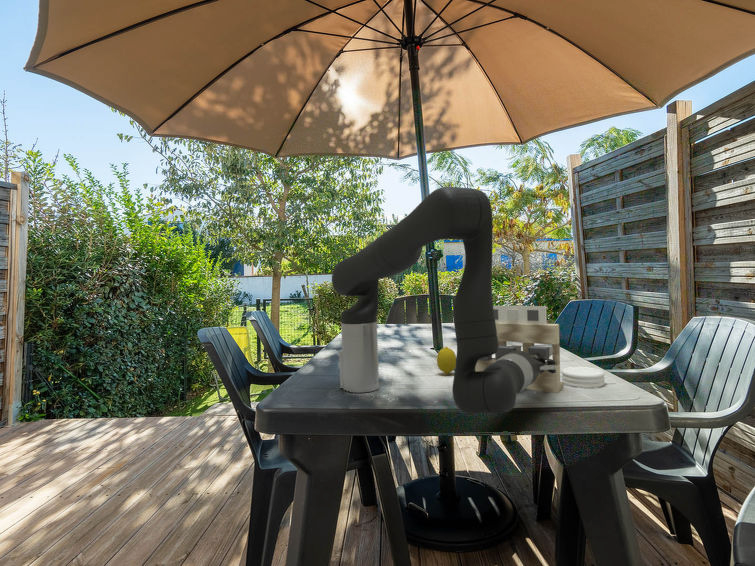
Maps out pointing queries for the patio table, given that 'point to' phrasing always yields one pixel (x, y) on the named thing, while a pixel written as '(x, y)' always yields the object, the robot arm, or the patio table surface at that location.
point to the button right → (541, 350)
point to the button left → (486, 358)
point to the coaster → (583, 377)
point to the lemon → (446, 360)
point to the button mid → (506, 350)
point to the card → (520, 314)
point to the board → (528, 337)
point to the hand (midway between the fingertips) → (536, 357)
